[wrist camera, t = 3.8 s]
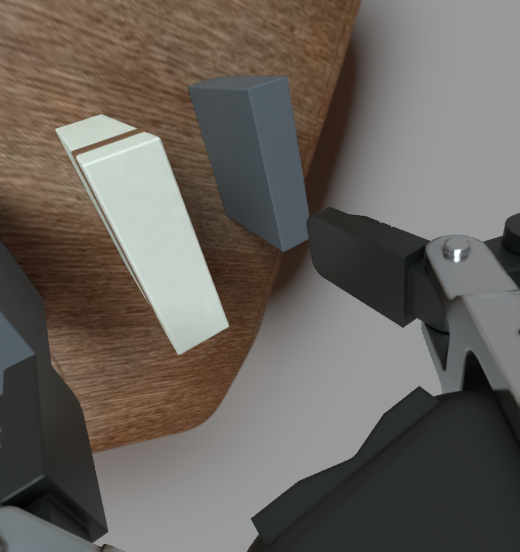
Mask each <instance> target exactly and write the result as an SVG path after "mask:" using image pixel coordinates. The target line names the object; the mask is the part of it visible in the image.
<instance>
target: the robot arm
mask: <svg viewBox="0 0 520 552" xmlns="http://www.w3.org/2000/svg"><path fill="white" fill-rule="evenodd" d="M306 225H307V232H308V238H309V244H310V251H311V257H312V262H313V264H314V267H315V269H316V270H317V272H318V273H319V274H320V275H321V276H322V277H324V278H325V279H327V280H328V281H330V282H332V283H333V284H335V285H336V286H338V287H340V288H341V289H343V290H344V291H346V292H347V293H349V294H350V295H352V296H354V297H355V298H357V299H358V300H360V301H362V302H363V303H365V304H366V305H368V306H370V307H371V308H373V309H374V310H376V311H377V312H379V313H381V314H382V315H384V316H385V317H387V318H389V319H390V320H392V321H393V322H395V323H396V324H398V325H400V326H401V327H403V328H404V327H405V326H406V325H408V324H409V323H411V322H412V321H414V320H415V319H416V318H418V319H420V320H421V321H422V328H421V329H422V332H423V335H424V338H425V341H426V344H427V346H428V349H429V352H430V355H431V358H432V360H433V363H434V366H435V369H436V371H437V374H438V377H439V380H440V383H441V388H442V394H441V395H437V396H434V397H433V396H432V395H431V394H429V393H428V392H427V391H425V390H424V389H422V388H421V387H420V386H419V387H417V388H416V389H415V390H414V391H412V392H411V393H410V394H409V395H407V396H406V397H405V398H403V399H402V400H401V401H400V402H398V403H397V404H396V405H395V406H393V407H392V408H391V409H390V410H388V411H387V412H386V413H384V414H383V416H382V417H381V419H380V420H379V422H378V423H377V425H376V426H375V427H374V429H373V430H372V432H371V433H370V435H369V436H368V438H367V439H366V441H365V442H364V443H363V445H362V446H361V448H360V449H359V451H358V452H357V454H356V455H355V456H354V457H352V458H351V459H349V460H347V461H345V462H342V463H340V464H337V465H335V466H333V467H330V468H328V469H326V470H323V471H321V472H319V473H316V474H314V475H312V476H310V477H307V478H305V479H302V480H300V481H298V482H297V483H296V484H294V485H293V486H292V487H290V488H289V489H288V490H287V491H285V492H284V493H283V494H282V495H280V496H279V497H278V498H276V499H275V500H274V501H273V502H271V503H270V504H269V505H268V506H266V507H265V508H264V509H262V510H261V511H260V512H259V513H257V514H256V515H255V516H254V517H252V518H251V520H252V522H253V524H254V526H255V527H256V529H257V531H258V533H259V535H258V536H257V537H256V539H255V540H254V542H253V543H252V544H251V546H250V547H249V549H248V551H247V552H520V213H519V214H515V215H513V216H511V217H509V218H508V219H507V220H506V223H505V227H504V233H503V236H500V237H497V238H494V239H491V240H487V241H484V242H482V241H480V240H478V239H475V238H473V237H469V236H463V235H447V236H442V237H438V238H436V239H434V240H432V241H429V240H426V239H424V238H421V237H419V236H416V235H414V234H410V233H408V232H406V231H403V230H400V229H398V228H395V227H392V228H391V226H390V225H387V224H385V223H380V222H379V221H377V220H374V219H372V218H369V217H367V216H360V215H350V214H347V213H344V212H342V211H339V210H336V209H334V208H331V207H328V208H326V209H324V210H322V211H320V212H318V213H316V214H314V215H312V216H311V217H309V218H308V219H307V222H306ZM107 532H108V528H107V523H106V518H105V514H104V509H103V504H102V500H101V494H100V490H99V485H98V480H97V476H96V471H95V466H94V461H93V457H92V452H91V447H90V443H89V438H88V433H87V428H86V424H85V419H84V414H83V411H82V408H81V406H80V404H79V402H78V400H77V398H76V396H75V395H74V393H73V392H72V390H71V389H70V388H69V387H68V385H67V384H66V383H65V382H64V381H63V379H62V378H61V377H60V376H59V374H58V373H57V372H56V371H55V369H54V368H53V367H52V366H51V364H50V363H49V362H48V361H47V359H46V358H45V357H44V356H43V355H42V354H40V353H36V354H34V355H32V356H30V357H28V358H26V359H24V360H22V361H20V362H18V363H16V364H14V365H12V366H10V367H8V368H6V369H5V370H4V373H3V394H2V395H0V552H125V551H123V550H121V549H118V548H116V547H114V546H111V545H107V544H104V545H103V546H102V547H100V546H97V545H95V544H93V542H95V541H96V540H97V539H99V538H100V537H102V536H103V535H104V534H106V533H107Z"/></svg>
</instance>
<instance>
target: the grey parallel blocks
mask: <svg viewBox="0 0 520 552" xmlns="http://www.w3.org/2000/svg"><path fill="white" fill-rule="evenodd" d="M188 90H189V93H190V96H191V100H192V103H193V106H194V110H195V113H196V116H197V120H198V123H199V126H200V130H201V133H202V136H203V139H204V143H205V146H206V149H207V153H208V156H209V159H210V163H211V166H212V169H213V173H214V176H215V179H216V183H217V186H218V189H219V193H220V196H221V199H222V202H223V206H224V209H225V212H226V215H227V216H228V217H230V218H231V219H233V220H234V221H236V222H238V223H239V224H241V225H242V226H244V227H245V228H247V229H248V230H250V231H251V232H253V233H255V234H256V235H258V236H259V237H261V238H262V239H264V240H265V241H267V242H268V243H270V244H272V245H273V246H275V247H276V248H278V249H279V250H281V251H282V252H285V251H287V250H288V249H290V248H292V247H294V246H296V245H298V244H300V243H302V242H304V241H305V240H308V239H309V238H308V232H307V225H306V222H307V219H308V218H309V212H308V204H307V198H306V192H305V185H304V179H303V173H302V166H301V160H300V154H299V147H298V141H297V135H296V128H295V122H294V116H293V109H292V103H291V97H290V90H289V84H288V78H287V76H236V77H216V78H213V79H210V80H207V81H203V82H200V83H197V84H194V85H191V86H189V87H188ZM36 353H40V354H42V355H43V356H44V357H45V358H46V359H47V361H48V362H49V363H50V364H51V358H50V349H49V341H48V332H47V324H46V315H45V307H44V299H43V298H42V296H41V295H40V293H39V292H38V291H37V289H36V288H35V287H34V285H33V284H32V282H31V281H30V280H29V278H28V277H27V276H26V274H25V273H24V271H23V270H22V269H21V267H20V266H19V264H18V263H17V262H16V260H15V259H14V258H13V256H12V255H11V253H10V252H9V251H8V249H7V248H6V247H5V245H4V244H3V242H2V241H1V240H0V395H2V394H3V373H4V370H5V369H6V368H8V367H10V366H12V365H14V364H16V363H18V362H20V361H22V360H24V359H26V358H28V357H30V356H32V355H34V354H36Z"/></svg>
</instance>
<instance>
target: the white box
mask: <svg viewBox="0 0 520 552" xmlns="http://www.w3.org/2000/svg"><path fill="white" fill-rule="evenodd" d="M56 133H57V135H58V137H59V138H60V140H61V142H62V144H63V146H64V148H65V150H66V152H67V154H68V156H69V158H70V160H71V161H72V163H73V165H74V167H75V169H76V171H77V173H78V175H79V177H80V179H81V181H82V183H83V184H84V186H85V188H86V190H87V192H88V194H89V196H90V198H91V200H92V202H93V204H94V206H95V207H96V209H97V211H98V213H99V215H100V217H101V219H102V221H103V223H104V225H105V227H106V229H107V230H108V232H109V234H110V236H111V238H112V240H113V242H114V244H115V246H116V248H117V250H118V252H119V253H120V255H121V257H122V259H123V261H124V263H125V265H126V266H127V268H128V270H129V271H130V273H131V275H132V277H133V278H134V280H135V282H136V283H137V285H138V287H139V289H140V290H141V292H142V294H143V295H144V297H145V299H146V301H147V302H148V304H149V306H150V307H151V309H152V311H153V313H154V315H155V317H156V319H157V321H158V323H159V325H160V327H161V329H162V330H163V332H164V334H165V335H167V336H168V338H169V340H170V342H171V343H172V345H173V347H174V348H175V350H176V352H177V353H178V354H179V355H180V354H182V353H184V352H186V351H187V350H189V349H191V348H193V347H194V346H196V345H198V344H200V343H201V342H203V341H205V340H207V339H208V338H210V337H212V336H214V335H215V334H217V333H219V332H221V331H222V330H224V329H226V328H228V327H229V324H228V321H227V318H226V316H225V313H224V310H223V307H222V305H221V302H220V299H219V297H218V294H217V291H216V288H215V286H214V283H213V280H212V277H211V275H210V272H209V269H208V267H207V264H206V261H205V258H204V256H203V253H202V250H201V247H200V245H199V242H198V239H197V237H196V234H195V231H194V228H193V226H192V223H191V220H190V218H189V215H188V212H187V209H186V207H185V204H184V201H183V198H182V196H181V193H180V190H179V188H178V185H177V182H176V179H175V177H174V174H173V171H172V168H171V166H170V163H169V160H168V158H167V155H166V152H165V149H164V147H163V144H162V141H161V139H160V138H159V137H157V136H154V135H152V134H149V133H148V131H147V130H146V129H143V128H135V127H132V126H130V125H127V124H125V123H122V122H120V121H117V120H115V119H112V118H110V117H107V116H105V115H102V114H101V115H98V116H94V117H91V118H88V119H85V120H82V121H79V122H76V123H73V124H70V125H66V126H63V127H60V128H57V129H56Z"/></svg>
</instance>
